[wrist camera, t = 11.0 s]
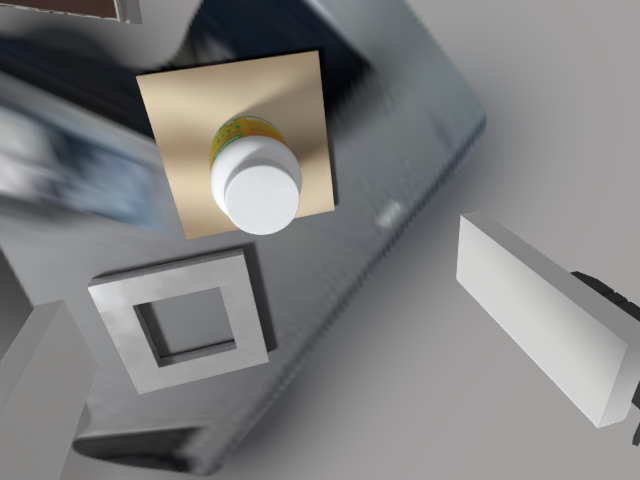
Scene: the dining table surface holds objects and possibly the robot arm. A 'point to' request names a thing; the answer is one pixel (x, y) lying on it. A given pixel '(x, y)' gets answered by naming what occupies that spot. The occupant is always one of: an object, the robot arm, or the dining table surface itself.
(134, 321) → the grey square frame
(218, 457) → the dining table surface
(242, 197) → the supplement bottle
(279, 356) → the dining table surface
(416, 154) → the dining table surface
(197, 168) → the oak pad
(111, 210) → the dining table surface
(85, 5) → the food container
